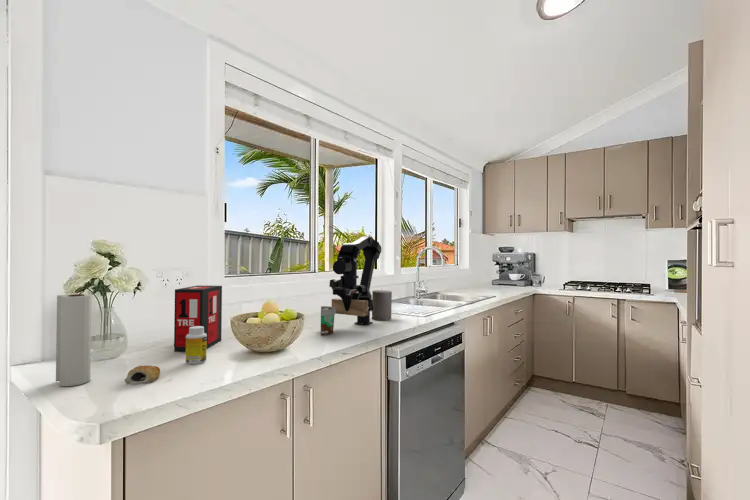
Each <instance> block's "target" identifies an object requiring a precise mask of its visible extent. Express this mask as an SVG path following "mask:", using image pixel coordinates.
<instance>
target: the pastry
mask: <svg viewBox="0 0 750 500" xmlns="http://www.w3.org/2000/svg"><path fill="white" fill-rule="evenodd" d="M160 374H161V369H160V367H159V366H156V365H150V364H149V365H138V366H135V367H134V368H132V369H130V370H129V371H128V373H127V375H126V378H125V379H124V382H125V383H126V384H127V385H132V386H133V385H146V384H150V383H154V382H155V381H157V380H158V379H159V378H160Z"/></svg>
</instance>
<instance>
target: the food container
mask: <svg viewBox="0 0 750 500" xmlns="http://www.w3.org/2000/svg"><path fill="white" fill-rule="evenodd" d="M335 315H337V314H336V309H335V308H334V307H332V306H326V305H324V306H322V305H321V306H320V336H328V335H329V336H330V335H333V333H334V328H335V327H334V326H335Z"/></svg>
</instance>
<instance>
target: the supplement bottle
mask: <svg viewBox="0 0 750 500" xmlns="http://www.w3.org/2000/svg"><path fill="white" fill-rule="evenodd" d="M203 332H204V327H203V326H193V327H190V328H189V333H190V334H187V335H186V352H185V363H186V364H187V365H200V364H203V363H205V362H206V361H207V353H208V352H207V350H208V349H207V334H206V333H203Z"/></svg>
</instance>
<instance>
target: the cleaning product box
mask: <svg viewBox="0 0 750 500" xmlns="http://www.w3.org/2000/svg"><path fill="white" fill-rule="evenodd" d="M222 306H223V286H222V285H193V286H187V287H183V288H177V289H174V320H173V321H174V324H173V325H174V327H173V328H174V332H173V333H174V334H173V335H174V336H173V346H174V347H173V352H174V353H186V335H187V334H190V333H189V328H190V327H193V326H203V327H204V332H203V333H206V334H207V350H208V349H210V348H212V347H214V346H216V345H217V344H218V342H219V343H220V342H222V324H223V323H222V315H223V314H222V312H223V310H222V309H223V307H222Z"/></svg>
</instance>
